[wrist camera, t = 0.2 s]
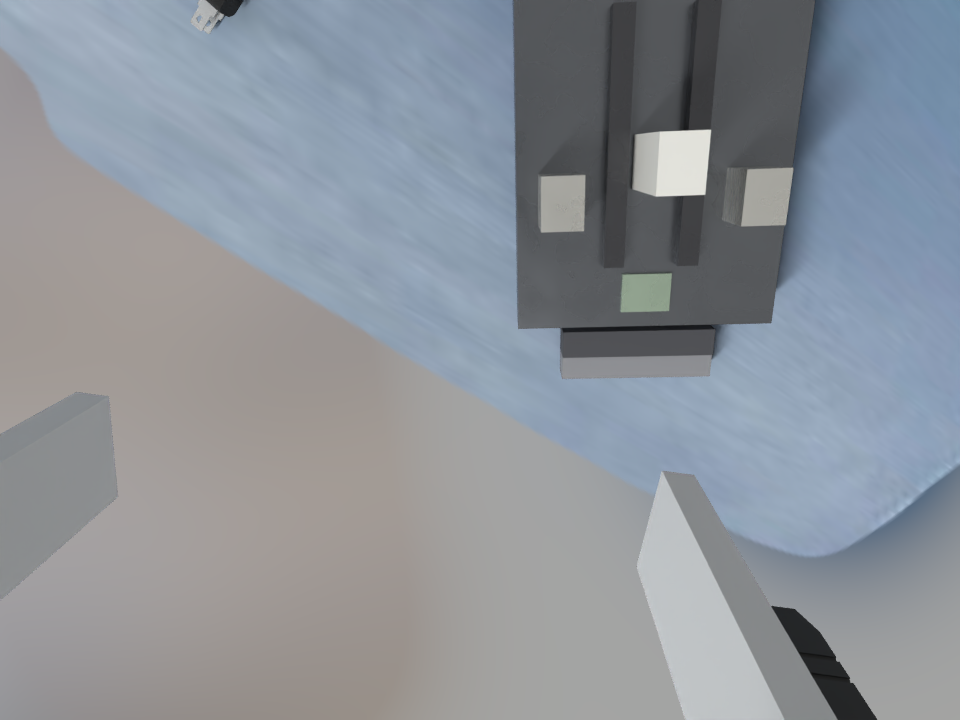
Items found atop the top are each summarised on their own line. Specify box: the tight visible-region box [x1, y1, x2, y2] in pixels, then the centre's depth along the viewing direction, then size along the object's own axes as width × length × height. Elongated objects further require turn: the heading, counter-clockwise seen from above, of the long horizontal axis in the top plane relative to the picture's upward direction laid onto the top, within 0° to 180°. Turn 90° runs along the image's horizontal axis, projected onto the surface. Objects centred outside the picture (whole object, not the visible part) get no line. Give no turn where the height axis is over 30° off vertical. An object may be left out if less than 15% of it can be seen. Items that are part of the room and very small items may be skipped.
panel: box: [513, 0, 815, 329], centre depth 34 cm, size 22×16×6 cm
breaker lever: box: [632, 130, 711, 197], centre depth 31 cm, size 3×2×6 cm
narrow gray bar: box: [560, 325, 715, 379], centre depth 40 cm, size 3×10×2 cm, turn 92°
